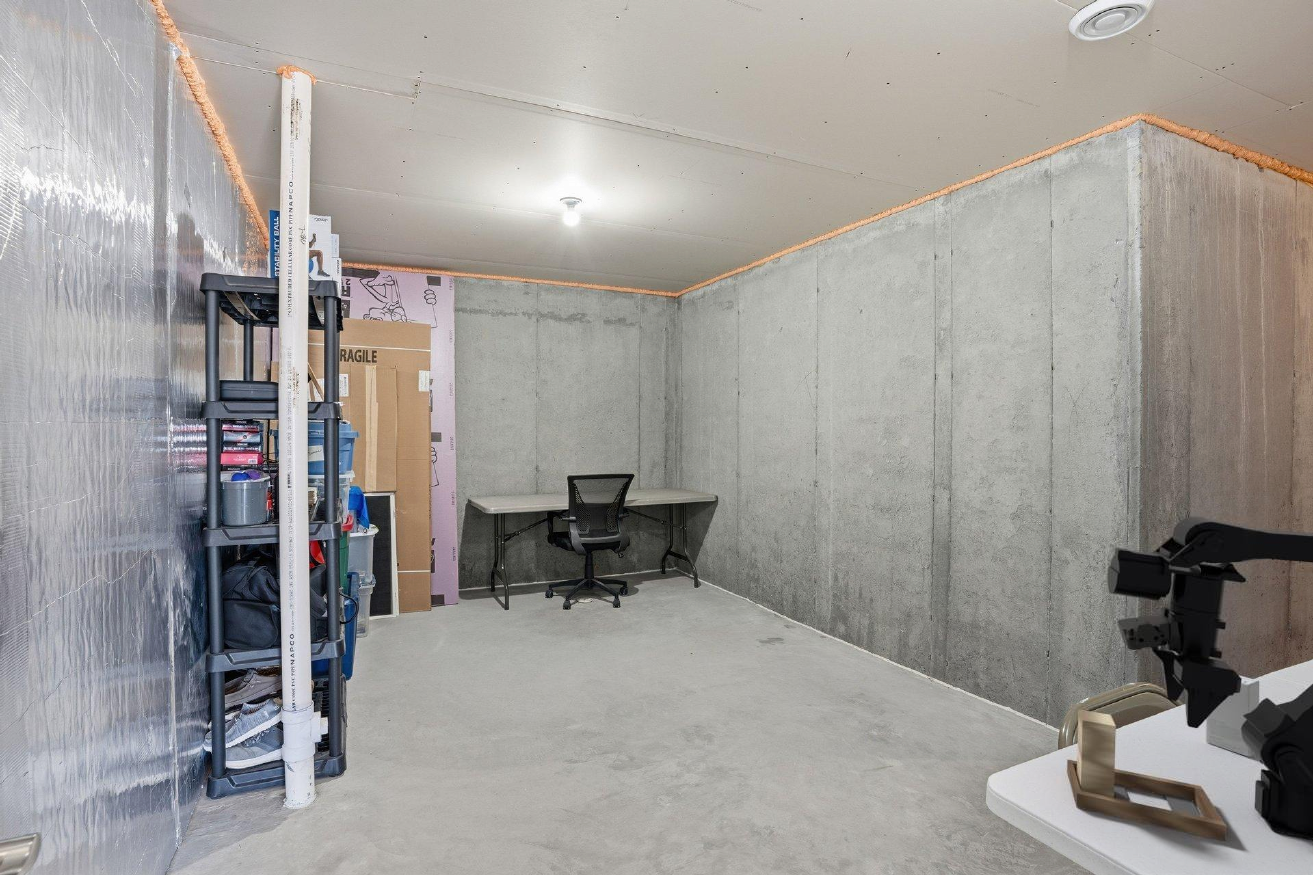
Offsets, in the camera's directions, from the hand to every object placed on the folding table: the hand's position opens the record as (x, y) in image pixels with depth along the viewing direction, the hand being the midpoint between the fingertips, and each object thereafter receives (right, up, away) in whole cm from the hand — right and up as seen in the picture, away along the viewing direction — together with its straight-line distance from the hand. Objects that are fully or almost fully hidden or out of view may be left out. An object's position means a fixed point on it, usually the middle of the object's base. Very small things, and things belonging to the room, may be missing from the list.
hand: (1181, 712), depth 94 cm
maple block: (-11, -13, +2) cm, 17 cm away
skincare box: (+22, -13, +17) cm, 30 cm away
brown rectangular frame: (-6, -13, 0) cm, 14 cm away
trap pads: (-4, -13, -1) cm, 14 cm away
